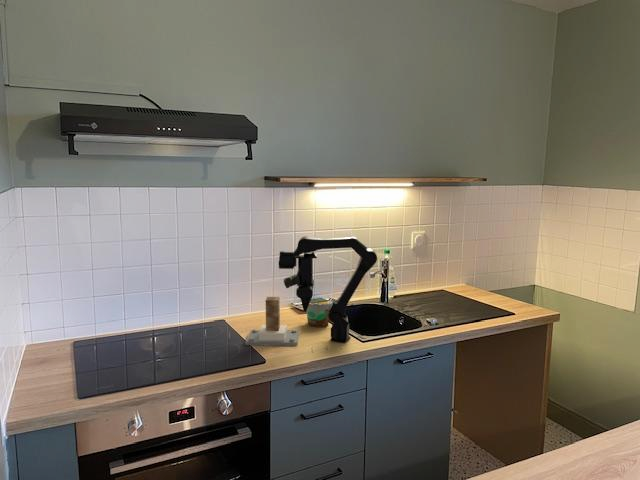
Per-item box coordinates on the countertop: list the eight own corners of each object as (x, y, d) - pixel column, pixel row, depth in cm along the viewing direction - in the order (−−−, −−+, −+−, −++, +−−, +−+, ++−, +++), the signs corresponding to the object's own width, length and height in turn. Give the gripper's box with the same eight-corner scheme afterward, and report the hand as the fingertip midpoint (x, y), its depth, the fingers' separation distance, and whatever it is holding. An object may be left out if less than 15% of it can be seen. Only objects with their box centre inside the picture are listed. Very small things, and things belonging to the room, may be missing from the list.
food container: (299, 325, 216) (299, 303, 214) (306, 321, 221) (306, 299, 220) (324, 329, 210) (324, 306, 208) (331, 325, 215) (331, 303, 214)
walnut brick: (279, 326, 201) (279, 296, 199) (278, 331, 196) (278, 300, 194) (267, 326, 201) (267, 296, 199) (266, 330, 196) (265, 300, 194)
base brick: (299, 333, 206) (299, 323, 205) (297, 345, 192) (297, 335, 191) (250, 332, 206) (250, 323, 205) (245, 345, 192) (245, 334, 191)
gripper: (286, 264, 204) (287, 301, 206) (282, 274, 185) (283, 314, 188) (313, 264, 204) (313, 301, 206) (312, 274, 185) (312, 314, 188)
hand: (305, 307), depth 197 cm, fingers open, 9 cm apart
